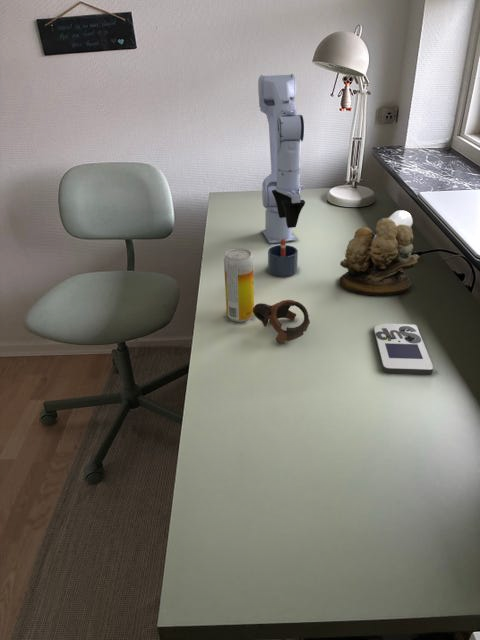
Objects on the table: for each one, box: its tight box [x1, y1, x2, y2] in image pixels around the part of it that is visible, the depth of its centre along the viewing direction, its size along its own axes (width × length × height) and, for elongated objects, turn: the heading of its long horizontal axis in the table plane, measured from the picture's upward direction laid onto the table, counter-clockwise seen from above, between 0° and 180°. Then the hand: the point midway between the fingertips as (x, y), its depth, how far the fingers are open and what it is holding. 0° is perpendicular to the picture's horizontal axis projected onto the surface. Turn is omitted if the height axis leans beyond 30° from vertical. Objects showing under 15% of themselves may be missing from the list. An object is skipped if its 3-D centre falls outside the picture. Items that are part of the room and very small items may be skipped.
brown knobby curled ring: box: [253, 299, 311, 345], centre depth 100 cm, size 12×10×8 cm
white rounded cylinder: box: [374, 209, 414, 236], centre depth 137 cm, size 7×7×15 cm
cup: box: [267, 244, 299, 278], centre depth 124 cm, size 7×7×6 cm
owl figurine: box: [339, 217, 420, 297], centre depth 113 cm, size 18×12×17 cm, turn 87°
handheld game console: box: [373, 323, 434, 375], centre depth 95 cm, size 9×15×1 cm, turn 175°
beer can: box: [223, 248, 255, 323], centre depth 103 cm, size 6×6×15 cm
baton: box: [280, 239, 287, 256], centre depth 123 cm, size 1×1×8 cm
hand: (287, 222), depth 126 cm, fingers open, 7 cm apart
